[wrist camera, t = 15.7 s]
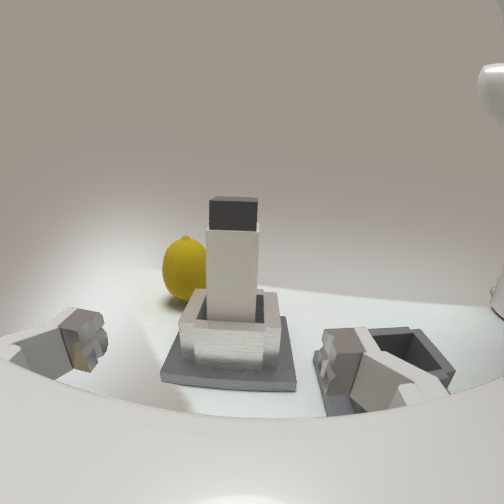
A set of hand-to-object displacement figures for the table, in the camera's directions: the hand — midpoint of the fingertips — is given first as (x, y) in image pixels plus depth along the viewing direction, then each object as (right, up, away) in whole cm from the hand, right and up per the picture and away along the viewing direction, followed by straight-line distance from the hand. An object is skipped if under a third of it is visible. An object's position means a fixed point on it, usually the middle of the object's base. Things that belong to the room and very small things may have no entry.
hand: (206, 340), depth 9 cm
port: (0, -6, +14) cm, 15 cm away
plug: (0, -5, +14) cm, 15 cm away
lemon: (-6, -3, +23) cm, 24 cm away
